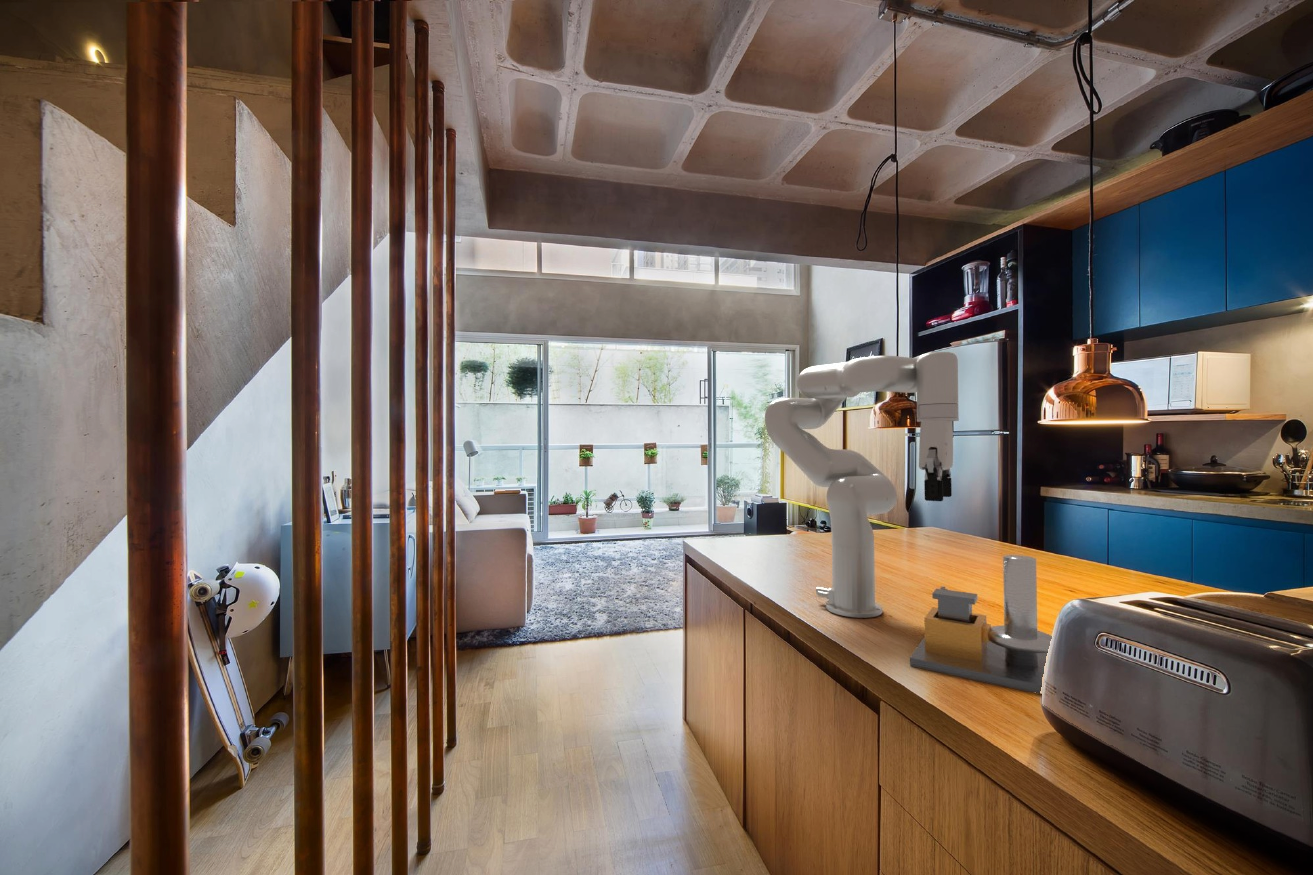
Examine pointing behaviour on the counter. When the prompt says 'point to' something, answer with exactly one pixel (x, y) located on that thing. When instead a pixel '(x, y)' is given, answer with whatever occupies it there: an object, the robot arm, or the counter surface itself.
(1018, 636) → the post
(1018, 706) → the counter surface
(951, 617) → the tall grey pillar block
